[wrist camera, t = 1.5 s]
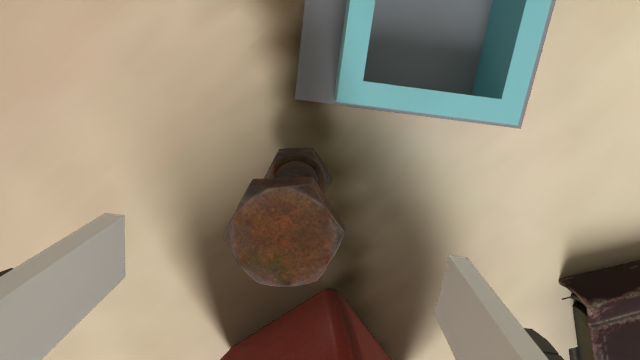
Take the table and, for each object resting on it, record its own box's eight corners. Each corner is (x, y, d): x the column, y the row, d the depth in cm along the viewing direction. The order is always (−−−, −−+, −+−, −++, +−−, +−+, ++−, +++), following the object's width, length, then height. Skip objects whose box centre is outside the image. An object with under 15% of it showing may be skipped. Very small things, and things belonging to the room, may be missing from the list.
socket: (295, 98, 30) (289, 103, 24) (315, -85, 27) (313, -135, 20) (511, 126, 31) (560, 138, 24) (557, -50, 27) (628, -88, 21)
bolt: (310, 206, 33) (302, 309, 18) (259, 180, 32) (208, 265, 17) (342, 149, 31) (361, 210, 17) (289, 120, 31) (261, 160, 16)
